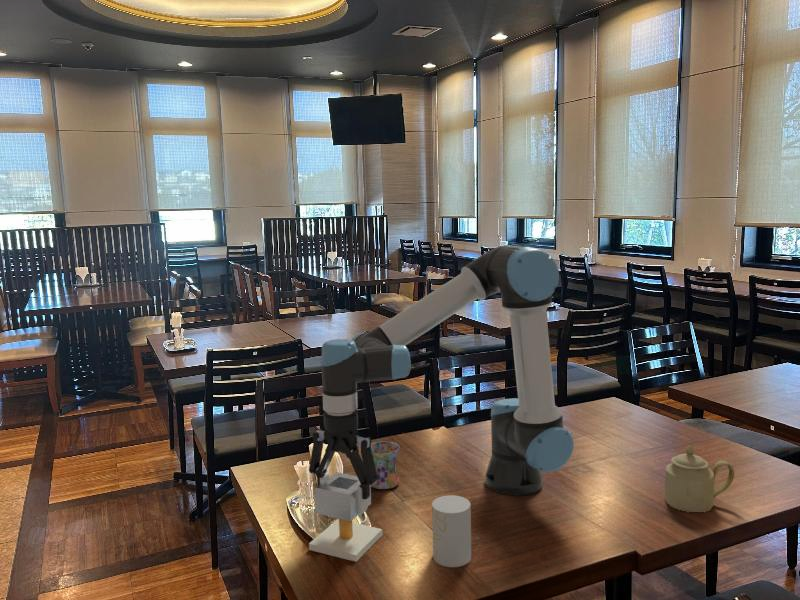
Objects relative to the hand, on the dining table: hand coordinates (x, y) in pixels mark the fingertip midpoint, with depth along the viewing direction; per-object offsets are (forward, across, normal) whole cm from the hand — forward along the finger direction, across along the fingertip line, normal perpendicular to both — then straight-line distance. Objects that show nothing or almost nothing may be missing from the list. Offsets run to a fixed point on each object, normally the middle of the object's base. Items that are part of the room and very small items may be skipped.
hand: (343, 507), depth 142 cm
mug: (+8, +7, -31) cm, 33 cm away
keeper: (+8, 0, 0) cm, 8 cm away
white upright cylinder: (+8, -24, -4) cm, 26 cm away
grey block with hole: (0, 0, 0) cm, 0 cm away
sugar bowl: (+8, -70, -51) cm, 87 cm away
